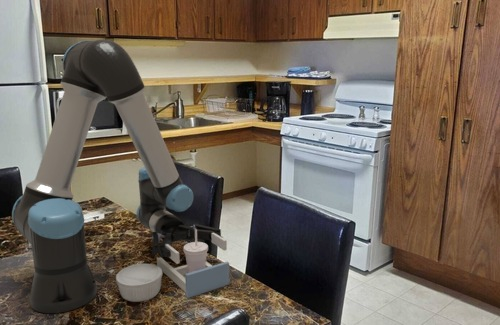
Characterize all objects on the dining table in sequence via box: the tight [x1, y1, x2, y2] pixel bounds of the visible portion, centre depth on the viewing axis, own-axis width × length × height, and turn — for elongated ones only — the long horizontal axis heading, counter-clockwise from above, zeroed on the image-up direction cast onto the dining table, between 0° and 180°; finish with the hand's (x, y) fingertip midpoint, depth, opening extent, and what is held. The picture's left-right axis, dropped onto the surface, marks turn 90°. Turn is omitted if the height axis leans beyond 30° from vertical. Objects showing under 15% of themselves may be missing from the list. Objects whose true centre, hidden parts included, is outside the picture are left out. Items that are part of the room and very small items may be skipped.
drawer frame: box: [156, 256, 230, 299], centre depth 116 cm, size 12×20×6 cm, turn 35°
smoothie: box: [183, 230, 209, 273], centre depth 112 cm, size 6×6×14 cm
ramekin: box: [115, 263, 164, 303], centre depth 107 cm, size 11×11×5 cm
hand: (202, 251), depth 109 cm, fingers open, 13 cm apart
